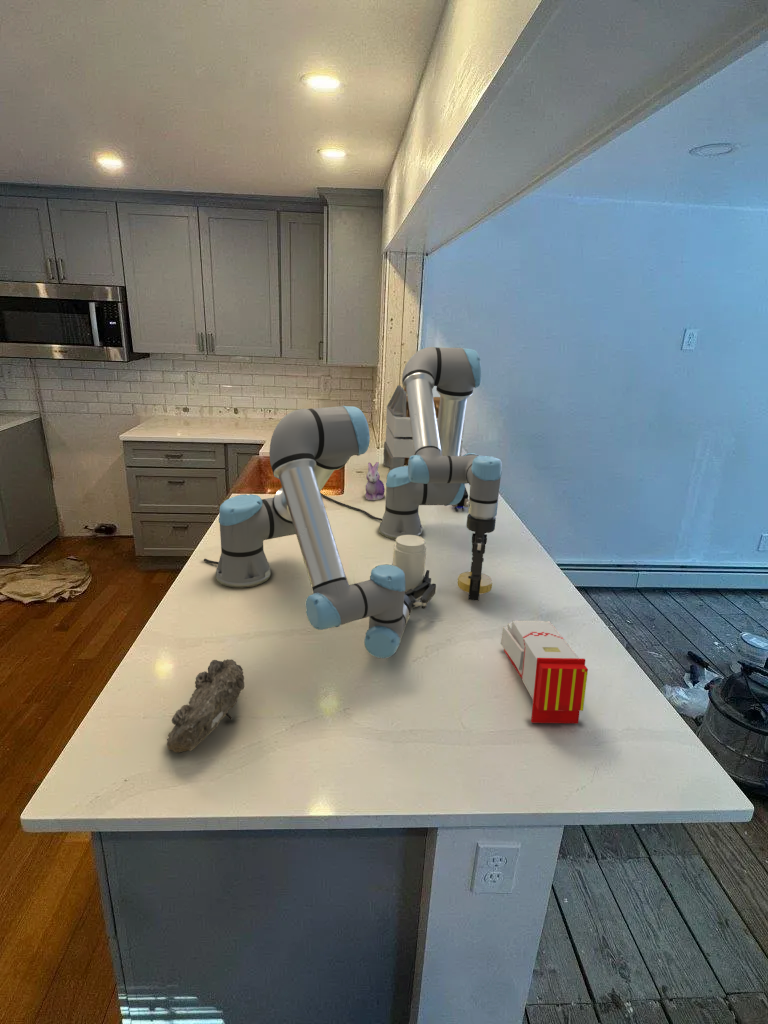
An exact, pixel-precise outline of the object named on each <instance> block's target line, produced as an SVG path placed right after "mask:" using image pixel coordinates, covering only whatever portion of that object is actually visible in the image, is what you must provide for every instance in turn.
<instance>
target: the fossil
mask: <svg viewBox="0 0 768 1024" xmlns="http://www.w3.org/2000/svg"><path fill="white" fill-rule="evenodd" d="M243 670H244V669H243V667H242V665H240V664H237V662H236V661H235V660H234V659H232V658H231V659H227V658H226V659H224V660H223V661H222V660H217V659H212V660H211V661H210V663H209V665H208V666H207V671H201V672H199V673H198V674H197V675H196V676H195V680H194V684H195V685H194V687H195V689H194V690H193V693H192V694H191V697H190V698H189V700H188V704H184V705H182V706H181V707H180V709H177V710H176V711H175V713H174V715H173V716H172V718H171V723H172V724H173V727H172V730H171V731H170V732H168V734H167V738H166V741H167V742H166V745H167V749H168V750H169V751H173V752H174V753H176V754H178V753H182V752H188V751H189V752H192V751H193V750H195V748H196V747H197V746H199V744H200V743H201V742H203V741H204V740H205V739H206V738H207V737H208V736H209V735H210V734H211V733H212V732H214V730H215V729H217V727H218V726H219V724H220V722H221V721H222V720H223V719H224V718H225V716H226V717H227V719H229V720H233V717H232V715H230V714H229V710H230V709H231V708H234V706H235V704H236V703H237V702H238V699H239V697H240V695H241V693H242V691H243V690H245V689H244V688H245V675H244V671H243Z"/></svg>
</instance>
